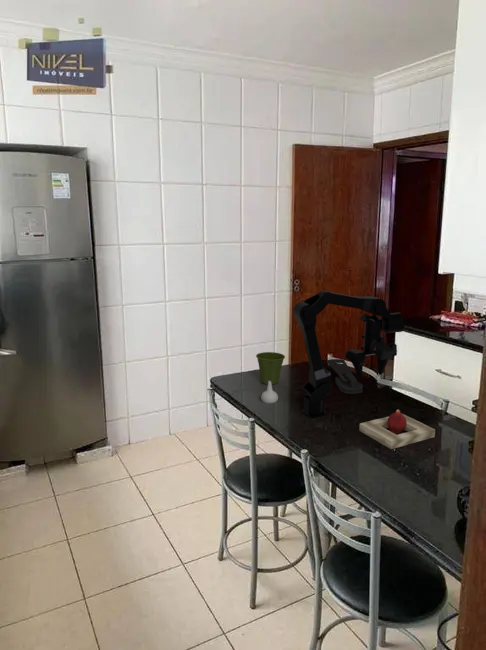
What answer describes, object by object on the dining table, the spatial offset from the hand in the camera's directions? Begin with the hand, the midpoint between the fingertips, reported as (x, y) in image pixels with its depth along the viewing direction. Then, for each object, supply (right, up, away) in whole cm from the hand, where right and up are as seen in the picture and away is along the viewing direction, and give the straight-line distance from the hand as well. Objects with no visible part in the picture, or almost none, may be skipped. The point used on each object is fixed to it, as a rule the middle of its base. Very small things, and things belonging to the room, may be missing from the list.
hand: (370, 376), depth 169 cm
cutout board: (+4, -16, -17) cm, 24 cm away
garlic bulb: (-35, -10, +9) cm, 38 cm away
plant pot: (-33, -6, +30) cm, 45 cm away
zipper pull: (-3, -6, +29) cm, 30 cm away
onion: (+4, -16, -17) cm, 24 cm away
